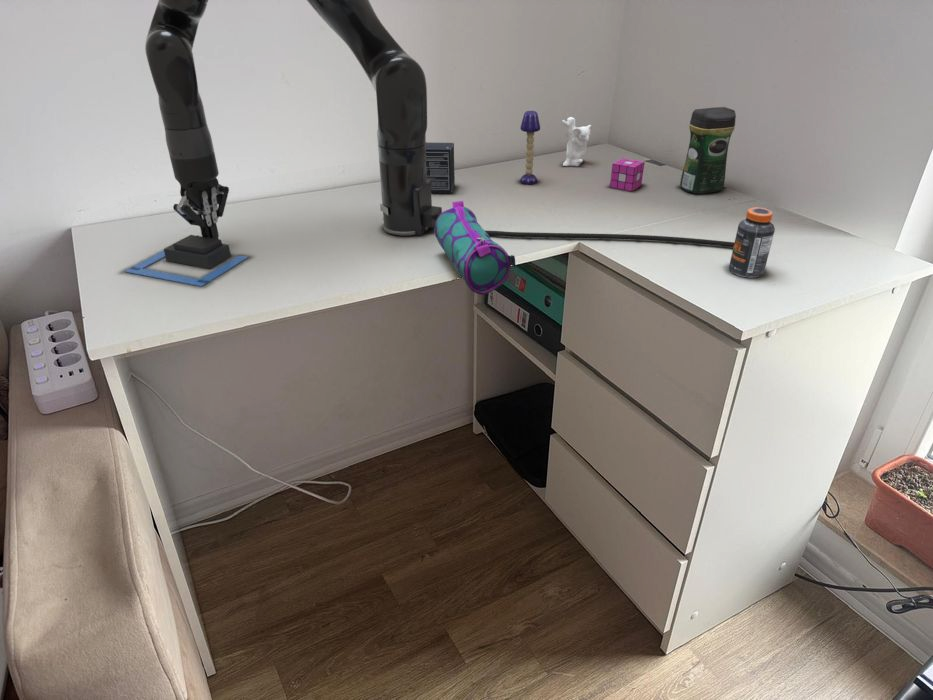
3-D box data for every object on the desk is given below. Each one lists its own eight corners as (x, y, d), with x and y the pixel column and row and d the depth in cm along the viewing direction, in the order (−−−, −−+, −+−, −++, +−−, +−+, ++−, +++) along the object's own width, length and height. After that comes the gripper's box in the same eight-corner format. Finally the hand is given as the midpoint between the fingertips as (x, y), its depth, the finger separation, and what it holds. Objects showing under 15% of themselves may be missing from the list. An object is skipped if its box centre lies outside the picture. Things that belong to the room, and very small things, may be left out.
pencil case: (514, 293, 111) (517, 239, 106) (464, 300, 109) (464, 246, 104) (476, 246, 128) (477, 198, 123) (432, 252, 126) (431, 203, 121)
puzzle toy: (619, 181, 163) (622, 158, 160) (641, 185, 160) (644, 161, 157) (609, 187, 159) (612, 163, 156) (631, 191, 156) (634, 167, 153)
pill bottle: (723, 265, 121) (736, 205, 115) (754, 263, 121) (769, 204, 115) (737, 279, 116) (751, 217, 110) (769, 277, 116) (786, 216, 110)
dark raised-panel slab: (231, 256, 125) (227, 239, 123) (210, 269, 120) (206, 251, 118) (188, 249, 128) (184, 231, 126) (166, 261, 123) (161, 243, 121)
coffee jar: (708, 182, 162) (723, 102, 152) (728, 192, 155) (745, 110, 146) (673, 185, 160) (686, 105, 150) (691, 196, 153) (706, 112, 143)
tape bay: (248, 257, 124) (248, 256, 124) (201, 286, 114) (201, 285, 114) (175, 245, 129) (175, 244, 129) (124, 272, 119) (124, 271, 119)
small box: (455, 185, 160) (455, 141, 155) (452, 194, 155) (451, 149, 149) (412, 184, 161) (410, 140, 156) (407, 193, 156) (405, 147, 150)
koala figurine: (561, 168, 172) (565, 121, 166) (554, 161, 178) (557, 115, 171) (592, 167, 173) (597, 119, 167) (584, 159, 179) (589, 113, 172)
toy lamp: (538, 185, 160) (542, 114, 152) (518, 185, 160) (521, 114, 152) (536, 179, 164) (540, 109, 156) (517, 179, 164) (520, 109, 156)
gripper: (182, 163, 111) (205, 258, 120) (232, 144, 122) (249, 232, 131) (147, 159, 113) (172, 253, 123) (199, 140, 124) (218, 228, 133)
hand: (212, 242), depth 127 cm, fingers closed
